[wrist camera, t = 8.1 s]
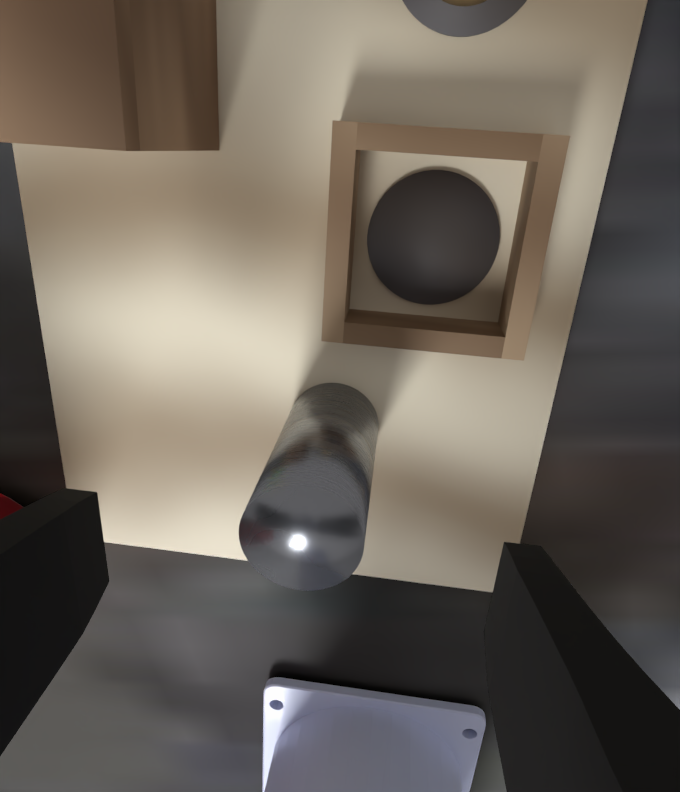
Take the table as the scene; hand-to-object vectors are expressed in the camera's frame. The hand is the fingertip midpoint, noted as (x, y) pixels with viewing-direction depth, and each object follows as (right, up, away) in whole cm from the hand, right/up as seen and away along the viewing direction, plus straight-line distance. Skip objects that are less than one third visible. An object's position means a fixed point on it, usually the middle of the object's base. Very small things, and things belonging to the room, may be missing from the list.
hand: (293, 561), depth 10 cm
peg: (+1, +2, +5) cm, 6 cm away
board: (0, +7, +5) cm, 8 cm away
